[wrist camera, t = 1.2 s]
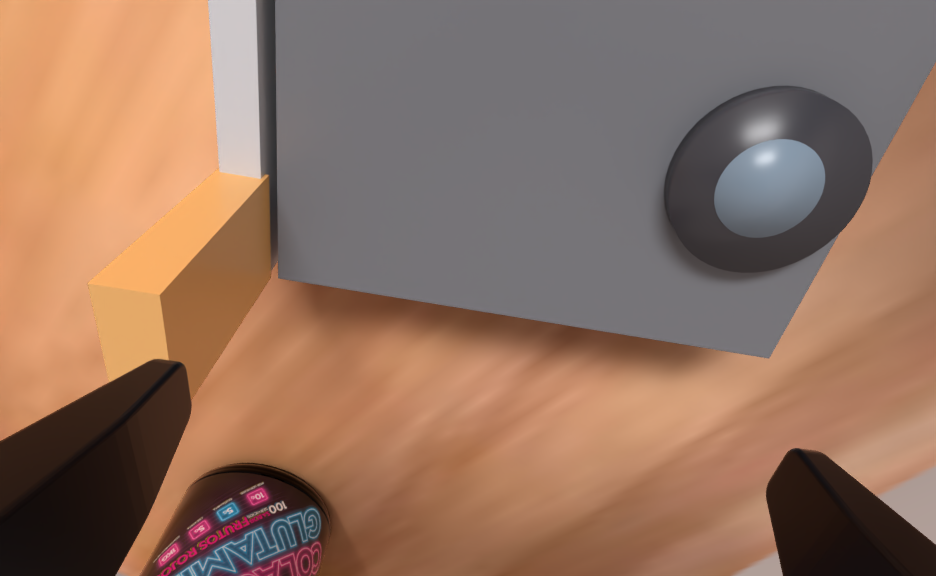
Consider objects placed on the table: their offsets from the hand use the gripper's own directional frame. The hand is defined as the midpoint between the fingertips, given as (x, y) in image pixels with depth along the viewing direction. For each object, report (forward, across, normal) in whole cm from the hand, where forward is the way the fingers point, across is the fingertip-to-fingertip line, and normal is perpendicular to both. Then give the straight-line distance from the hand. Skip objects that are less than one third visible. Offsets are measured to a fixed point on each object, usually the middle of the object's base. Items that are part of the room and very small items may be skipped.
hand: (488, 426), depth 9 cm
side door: (+11, +6, -3) cm, 13 cm away
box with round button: (+11, -2, -2) cm, 11 cm away
